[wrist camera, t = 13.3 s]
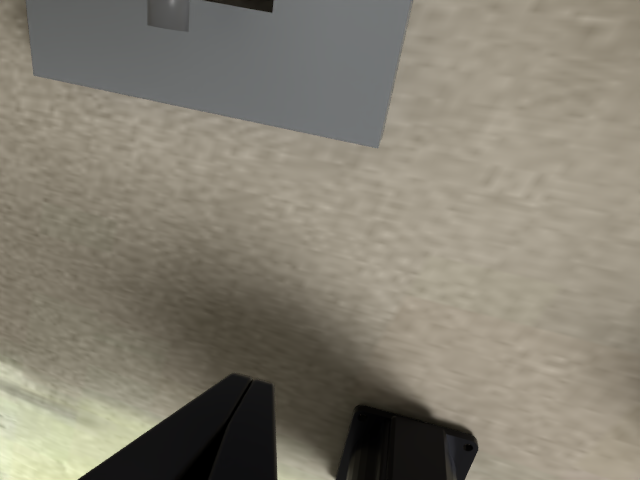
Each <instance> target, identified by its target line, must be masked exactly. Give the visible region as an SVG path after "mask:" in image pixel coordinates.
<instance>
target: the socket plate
mask: <svg viewBox="0 0 640 480" xmlns="http://www.w3.org/2000/svg"><path fill="white" fill-rule="evenodd" d="M412 3H413V0H274V3H273V12H272V13H270V12H264V11H259V10H253V9H248V8H242V7H237V6H231V5H226V4H221V3H215V2H210V1H204V0H190V8H189V32H185V31H177V30H170V29H164V28H158V27H153V26H149V25H147V0H26V7H27V17H28V27H29V36H30V46H31V56H32V65H33V75H34V76H38V77H43V78H48V79H53V80H57V81H62V82H67V83H71V84H76V85H81V86H86V87H90V88H95V89H100V90H105V91H109V92H114V93H119V94H123V95H128V96H133V97H138V98H142V99H147V100H152V101H156V102H161V103H166V104H171V105H175V106H180V107H185V108H190V109H194V110H199V111H204V112H208V113H213V114H218V115H223V116H227V117H232V118H237V119H241V120H246V121H251V122H256V123H260V124H265V125H270V126H275V127H279V128H284V129H289V130H293V131H298V132H303V133H308V134H312V135H317V136H322V137H326V138H331V139H336V140H341V141H345V142H350V143H355V144H360V145H364V146H369V147H374V148H378V147H379V145H380V142H381V139H382V136H383V131H384V127H385V122H386V118H387V113H388V109H389V105H390V100H391V96H392V91H393V87H394V82H395V78H396V74H397V69H398V65H399V60H400V56H401V52H402V47H403V43H404V38H405V34H406V29H407V25H408V21H409V16H410V12H411V7H412Z"/></svg>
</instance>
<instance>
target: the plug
mask: <svg viewBox="0 0 640 480" xmlns="http://www.w3.org/2000/svg"><path fill="white" fill-rule="evenodd" d="M189 8H190V0H147V25H149V26H153V27H158V28H164V29H170V30H177V31H185V32H189Z"/></svg>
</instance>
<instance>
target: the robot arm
mask: <svg viewBox="0 0 640 480" xmlns="http://www.w3.org/2000/svg"><path fill="white" fill-rule="evenodd" d="M361 414H362V415H365V416H361ZM465 444H470V445H465ZM477 451H478V443H477V439H476V438H475V437H474V436H472V435H470V434H466V433H462V432H459V431H455V430H452V429H448V428H444V427H441V426H437V425H433V424H430V423H426V422H423V421H419V420H415V419H412V418H408V417H405V416H401V415H397V414H394V413H390V412H386V411H383V410H379V409H376V408H372V407H368V406H364V405H360V406H357V407H356V408H355V409H354V412H353V416H352V420H351V424H350V427H349V431H348V435H347V438H346V442H345V446H344V449H343V453H342V457H341V461H340V464H339V468H338V472H337V475H336V479H335V480H465V478H466V475H467V473H468V471H469V469H470V467H471V464H472V462H473V460H474V458H475V456H476V453H477ZM78 480H277V453H276V420H275V388H274V384H273V383H271V382H267V381H264V380H260V379H254V380H253V379H252V378H251V377H249V376H246V375H242V374H239V373H232V374H230V375H228V376H227V377H225V378H224V379H223V380H221V381H220V382H218V383H217V384H215V385H214V386H212V387H211V388H210V389H208V390H207V391H205V392H204V393H202V394H201V395H199V396H198V397H197V398H195V399H194V400H192V401H191V402H189V403H188V404H186V405H185V406H183V407H182V408H181V409H179V410H178V411H176V412H175V413H173V414H172V415H170V416H169V417H168V418H166V419H165V420H163V421H162V422H160V423H159V424H157V425H156V426H155V427H153V428H152V429H150V430H149V431H147V432H146V433H144V434H143V435H141V436H140V437H139V438H137V439H136V440H134V441H133V442H131V443H130V444H128V445H127V446H126V447H124V448H123V449H121V450H120V451H118V452H117V453H115V454H114V455H113V456H111V457H110V458H108V459H107V460H105V461H104V462H102V463H101V464H99V465H98V466H97V467H95V468H94V469H92V470H91V471H89V472H88V473H86V474H85V475H84V476H82V477H81V478H79V479H78Z"/></svg>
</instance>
